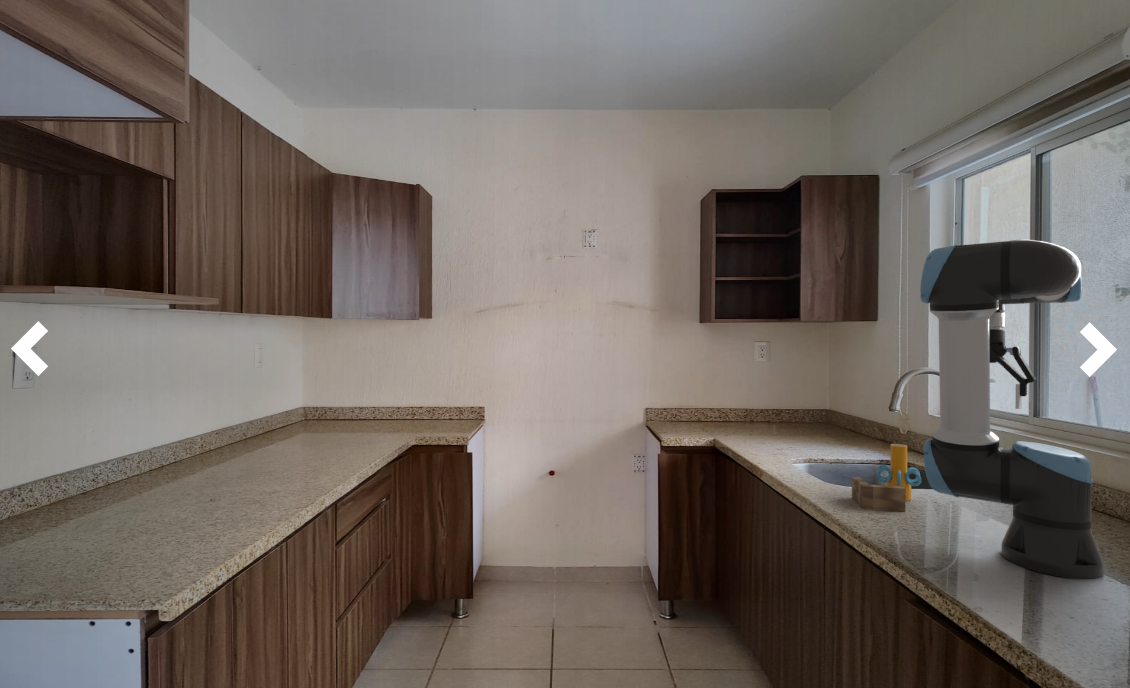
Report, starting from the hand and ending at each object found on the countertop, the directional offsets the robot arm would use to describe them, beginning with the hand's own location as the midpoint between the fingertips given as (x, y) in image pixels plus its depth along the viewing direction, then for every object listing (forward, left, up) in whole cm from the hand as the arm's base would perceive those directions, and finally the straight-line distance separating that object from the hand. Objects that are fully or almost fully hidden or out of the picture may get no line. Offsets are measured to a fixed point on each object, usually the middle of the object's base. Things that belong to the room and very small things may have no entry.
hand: (986, 406), depth 147 cm
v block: (-26, +22, -26) cm, 43 cm away
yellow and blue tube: (-12, +19, -27) cm, 35 cm away
